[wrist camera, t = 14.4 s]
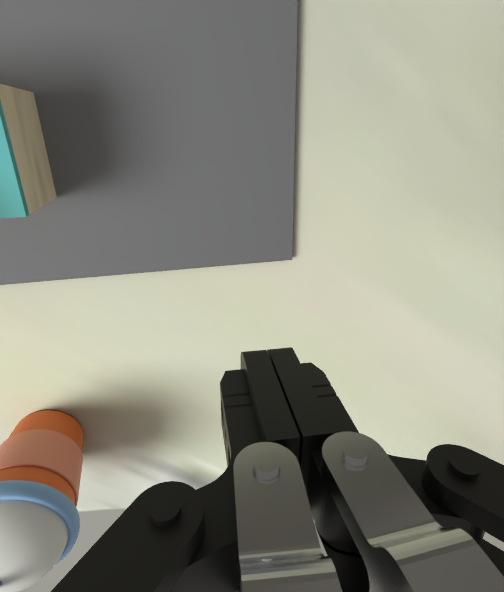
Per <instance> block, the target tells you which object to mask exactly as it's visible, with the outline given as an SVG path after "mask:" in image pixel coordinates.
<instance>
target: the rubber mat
mask: <svg viewBox="0 0 504 592" xmlns="http://www.w3.org/2000/svg"><path fill="white" fill-rule="evenodd" d="M297 11H298V0H0V84H3V85H7V86H11V87H15V88H18V89H22V90H26V91H30V92H33V93H34V97H35V101H36V106H37V110H38V115H39V119H40V124H41V128H42V133H43V138H44V142H45V147H46V151H47V156H48V160H49V165H50V169H51V174H52V178H53V183H54V187H55V192H56V196H57V198H55V199H54V200H52V201H51V202H49V203H47V204H46V205H44V206H43V207H41V208H40V209H38V210H36V211H35V212H33V213H32V214H30V215H29V216H27V217H16V218H0V285H5V284H16V283H28V282H39V281H51V280H63V279H74V278H86V277H97V276H109V275H121V274H132V273H144V272H156V271H167V270H179V269H190V268H202V267H214V266H225V265H237V264H248V263H260V262H272V261H283V260H292V248H293V201H294V153H295V106H296V58H297Z"/></svg>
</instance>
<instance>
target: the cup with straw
mask: <svg viewBox="0 0 504 592" xmlns="http://www.w3.org/2000/svg"><path fill="white" fill-rule="evenodd" d="M82 446H83V430H82V427H81V425H80V424H79V423H78V421H77V420H76V419H74V418H73V417H72V416H70V415H68V414H66V413H63V412H59V411H53V410H45V411H38V412H35V413H32V414H30V415H28V416H26V417H25V418H23V419H22V420H21V421H20V422H19V423H18V425H17V426H16V427H15V429H14V430H13V432H12V433H11V435H10V436H9V438H8V439H7V440H6V441H4V442H3V443H2V445H1V446H0V592H18V591H21V590H23V589H25V588H27V587H29V586H31V585H32V584H34V583H35V582H37V581H38V580H40V579H41V578H42V577H43V576H45V575H46V574H47V573H48V572H49V571H50V570H51V569H52V568H53V566H54V565H55V564H57V563H58V562H59V561H61V560H62V559H63V558H64V557H65V556H66V555H67V554H68V553H69V551H70V550H71V549H72V547H73V545H74V544H75V542H76V539H77V537H78V533H79V528H80V518H79V514H78V510H77V508H76V505H77V501H78V493H79V485H80V478H81V470H82V462H83V458H82Z"/></svg>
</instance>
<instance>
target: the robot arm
mask: <svg viewBox="0 0 504 592" xmlns="http://www.w3.org/2000/svg"><path fill="white" fill-rule="evenodd" d="M220 391H221V418H222V430H223V437H224V444H225V450H226V458H227V465H228V467H227V469H226V470H225V472H224V473H223V474H222V475H221V476H220V477H219V478H218V479H216V480H215V481H213V482H212V483H210V484H208V485H206V486H204V487H201V488H199V489H197V490H195V489H194V488H193V487H191V486H190V485H188V484H185V483H182V482H175V481H170V482H163V483H159V484H157V485H154V486H152V487H150V488H148V489H147V490H145V491H144V492H143V493H141V494H140V495H139V496H138V497H137V498H136V499H135V500H134V502H133V503H132V504H131V505H130V506H129V507H128V508H127V509H126V510H125V511H124V512H123V514H122V515H121V516H120V517H119V518H118V519H117V520H116V521H115V522H114V523H113V524H112V526H111V527H110V528H109V529H108V530H107V531H106V532H105V533H104V534H103V535H102V537H100V539H99V540H98V541H97V542H96V543H95V544H94V545H93V546H92V547H91V548H90V550H89V551H88V552H87V553H86V554H85V555H84V556H83V557H82V558H81V559H80V560H79V561H78V563H77V564H76V565H75V566H74V567H73V568H72V569H71V570H70V571H69V572H68V573H67V575H66V576H65V577H64V578H63V579H62V580H61V581H60V582H59V583H58V584H57V585H56V587H55V588H54V589H53V590H52V591H51V592H504V551H502V550H500V549H499V548H497V547H495V546H494V545H492V544H490V543H489V542H487V541H485V540H484V539H482V538H483V536H484V533H485V532H487V533H489V534H490V535H492V536H494V537H495V538H498V539H499V540H501V541H502V542H504V465H502V464H500V463H498V462H496V461H494V460H491V459H489V458H487V457H485V456H483V455H481V454H479V453H477V452H475V451H473V450H470V449H468V448H465V447H462V446H458V445H451V444H444V445H439V446H436V447H434V448H433V449H431V450H430V452H429V453H428V456H427V460H426V461H425V460H417V459H410V458H402V457H396V456H392V455H388V454H386V452H385V451H384V449H383V448H382V447H381V446H380V445H379V444H378V443H377V442H376V441H374V440H373V439H372V438H370V437H368V436H366V435H363V434H360V433H359V432H358V430H357V428H356V427H355V425H354V423H353V422H352V420H351V418H350V416H349V415H348V413H347V411H346V410H345V408H344V406H343V404H342V403H341V401H340V399H339V398H338V396H336V392H335V391H334V389H333V387H332V386H331V384H330V382H329V380H328V379H327V377H326V375H325V373H324V372H323V371H322V370H320V369H319V368H318V367H316V366H315V365H314V364H312V363H301V364H300V362H299V360H298V358H297V356H296V354H295V352H294V350H293V348H281V349H270V350H267V351H266V350H260V351H248V352H241V370H230V371H225V374H224V376H223V378H222V380H221V382H220ZM313 519H314V520H313ZM314 522H315V523H314Z"/></svg>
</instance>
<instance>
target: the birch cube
mask: <svg viewBox="0 0 504 592" xmlns="http://www.w3.org/2000/svg"><path fill="white" fill-rule="evenodd" d="M55 198H57V196H56V192H55V187H54V183H53V178H52V174H51V169H50V165H49V160H48V156H47V151H46V147H45V142H44V138H43V133H42V128H41V124H40V119H39V115H38V110H37V106H36V101H35V97H34V93H33V92H30V91H26V90H22V89H18V88H15V87H11V86H7V85H3V84H0V218H16V217H27V216H29V215H30V214H32V213H33V212H35V211H36V210H38V209H40V208H41V207H43V206H44V205H46V204H47V203H49V202H51V201H52V200H54V199H55Z"/></svg>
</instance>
